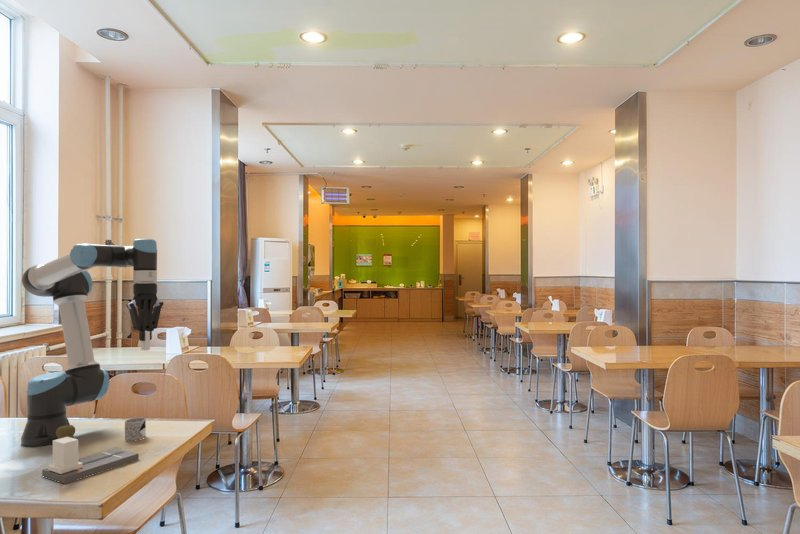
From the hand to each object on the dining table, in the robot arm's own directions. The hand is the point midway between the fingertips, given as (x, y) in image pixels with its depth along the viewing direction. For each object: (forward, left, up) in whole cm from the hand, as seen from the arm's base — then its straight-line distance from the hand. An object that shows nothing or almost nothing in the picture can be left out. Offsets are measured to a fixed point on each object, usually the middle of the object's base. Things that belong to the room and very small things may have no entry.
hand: (145, 349), depth 181 cm
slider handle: (+3, -32, -30) cm, 44 cm away
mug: (-9, +4, -33) cm, 34 cm away
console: (+4, -24, -32) cm, 40 cm away
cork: (-10, -22, -33) cm, 41 cm away
